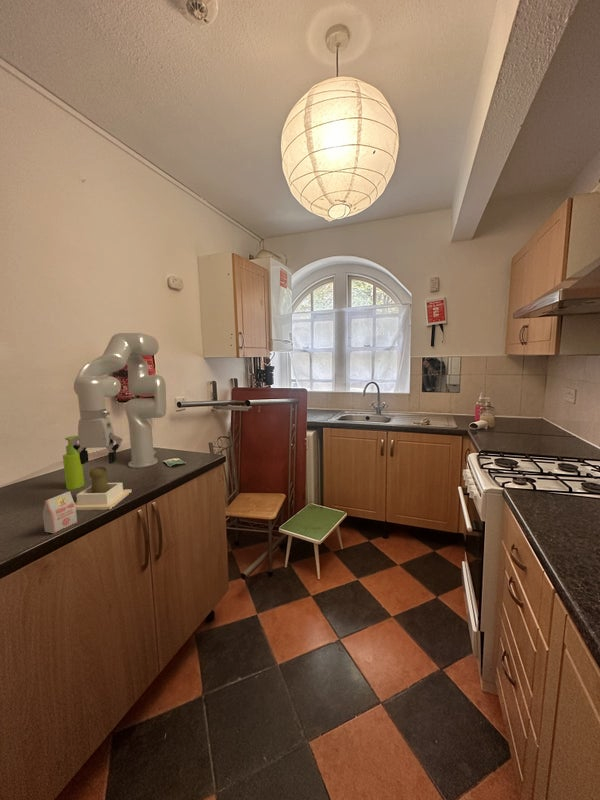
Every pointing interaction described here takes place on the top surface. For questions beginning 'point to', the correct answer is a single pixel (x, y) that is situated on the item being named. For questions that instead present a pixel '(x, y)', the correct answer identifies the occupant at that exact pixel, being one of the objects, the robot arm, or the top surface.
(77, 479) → the soap dispenser
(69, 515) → the white carton
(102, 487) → the cork
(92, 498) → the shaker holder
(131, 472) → the top surface
